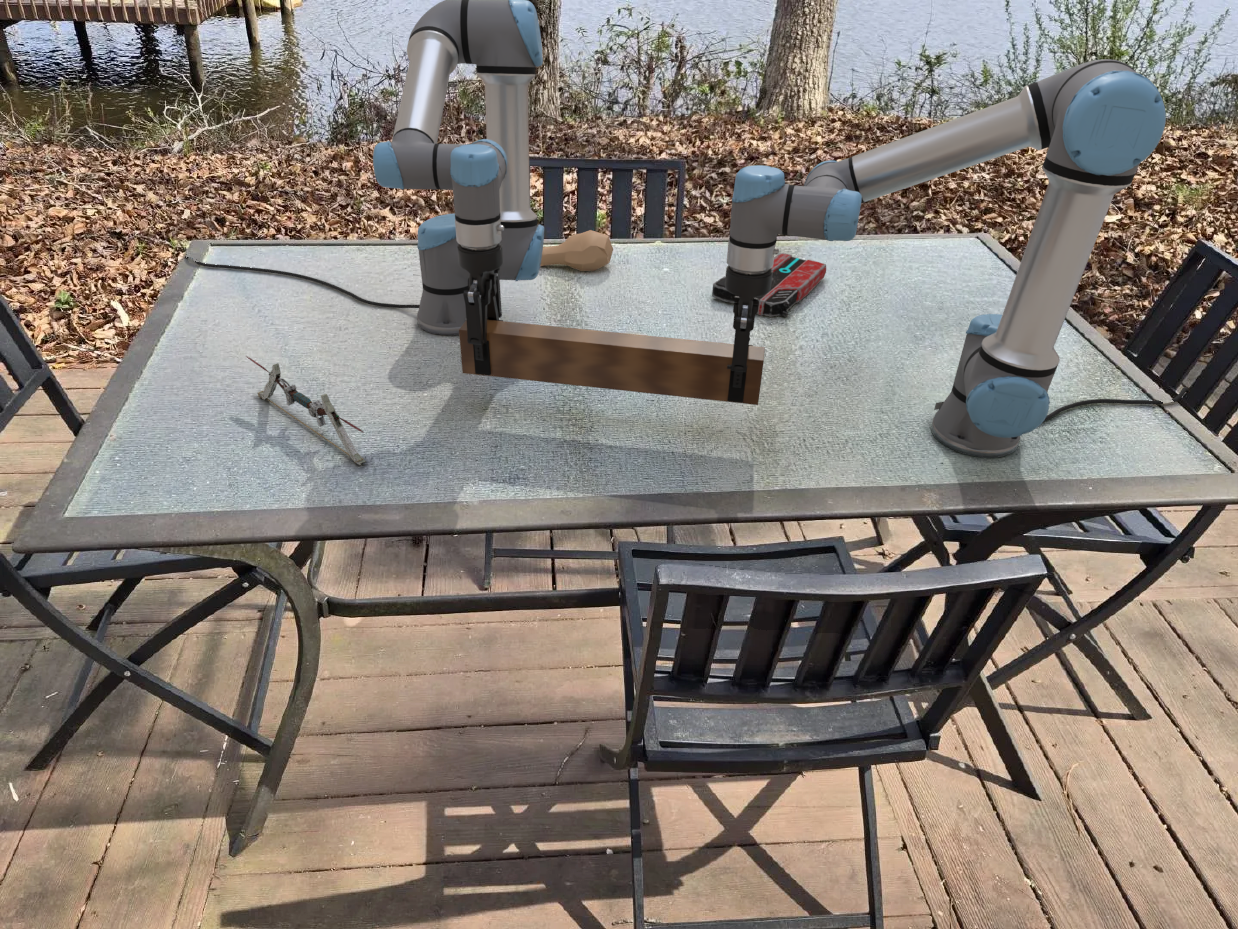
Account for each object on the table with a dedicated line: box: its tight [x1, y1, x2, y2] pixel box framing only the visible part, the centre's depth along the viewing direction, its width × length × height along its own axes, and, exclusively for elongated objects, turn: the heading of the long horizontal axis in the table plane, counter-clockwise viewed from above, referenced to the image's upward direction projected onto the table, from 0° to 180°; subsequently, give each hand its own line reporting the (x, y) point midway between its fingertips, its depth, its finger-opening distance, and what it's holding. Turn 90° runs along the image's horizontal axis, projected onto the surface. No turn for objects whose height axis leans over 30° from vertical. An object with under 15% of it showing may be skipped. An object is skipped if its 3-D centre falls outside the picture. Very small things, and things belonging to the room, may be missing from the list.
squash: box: [540, 229, 614, 272], centre depth 224 cm, size 11×20×9 cm, turn 90°
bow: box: [245, 355, 367, 466], centre depth 155 cm, size 39×2×10 cm, turn 47°
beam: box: [458, 320, 766, 406], centre depth 155 cm, size 54×5×9 cm, turn 80°
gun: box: [711, 252, 827, 318], centre depth 215 cm, size 4×31×19 cm
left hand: (488, 365), depth 160 cm, fingers closed on beam, 5 cm apart
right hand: (736, 392), depth 154 cm, fingers closed on beam, 5 cm apart
